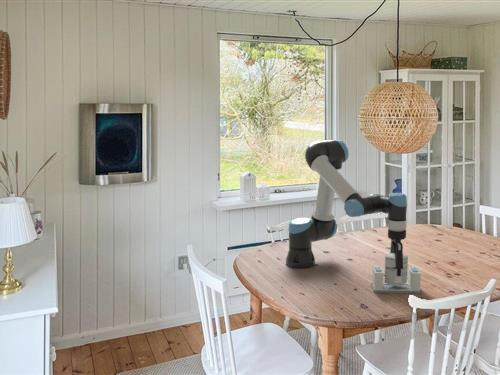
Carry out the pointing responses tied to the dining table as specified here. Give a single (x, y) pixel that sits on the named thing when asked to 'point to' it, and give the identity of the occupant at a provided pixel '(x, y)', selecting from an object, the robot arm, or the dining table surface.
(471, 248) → the dining table surface
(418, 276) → the grey holder stand
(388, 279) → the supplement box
